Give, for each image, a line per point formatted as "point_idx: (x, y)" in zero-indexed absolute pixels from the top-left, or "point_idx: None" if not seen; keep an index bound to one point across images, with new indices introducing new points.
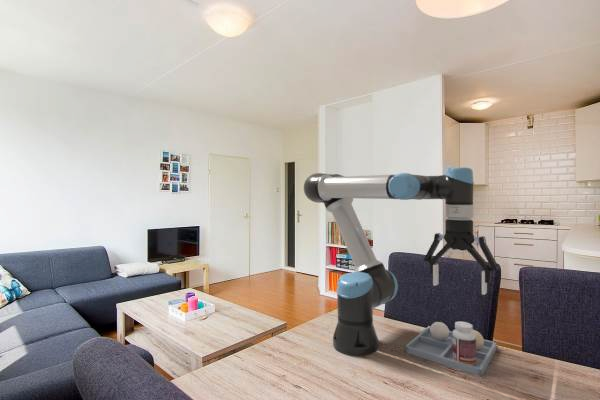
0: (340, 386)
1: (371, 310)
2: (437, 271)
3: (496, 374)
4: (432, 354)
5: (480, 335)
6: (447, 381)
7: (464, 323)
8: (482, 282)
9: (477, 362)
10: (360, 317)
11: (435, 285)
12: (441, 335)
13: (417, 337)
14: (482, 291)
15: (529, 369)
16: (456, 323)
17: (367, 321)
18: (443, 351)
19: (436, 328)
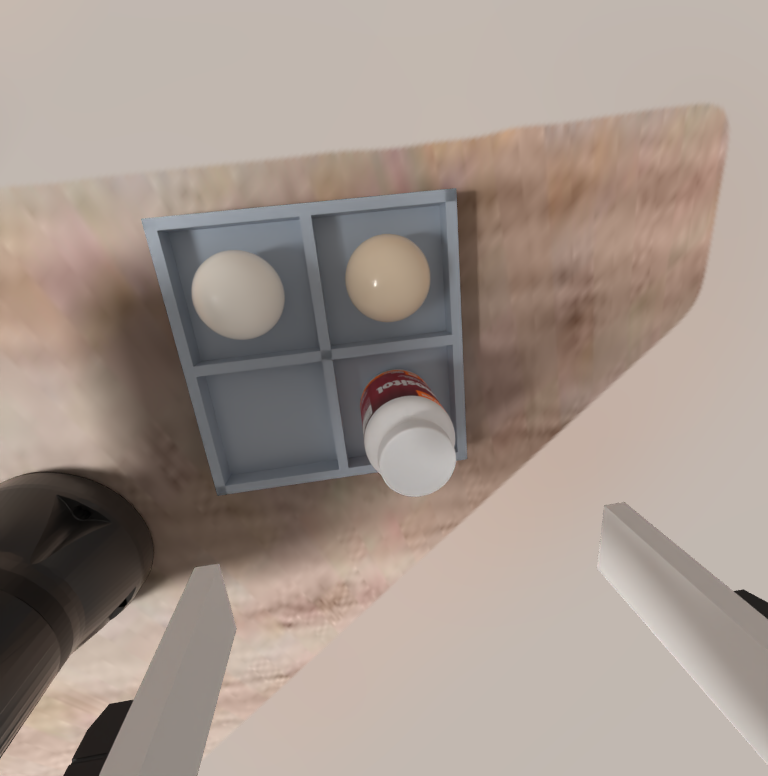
0: (228, 700)
1: (18, 666)
2: (173, 736)
3: (483, 386)
4: (318, 478)
5: (424, 281)
6: (394, 517)
7: (417, 449)
8: (682, 657)
9: (427, 375)
10: (38, 700)
11: (235, 630)
12: (269, 330)
13: (197, 392)
14: (619, 586)
15: (557, 275)
16: (389, 477)
17: (62, 649)
18: (333, 431)
19: (239, 335)
